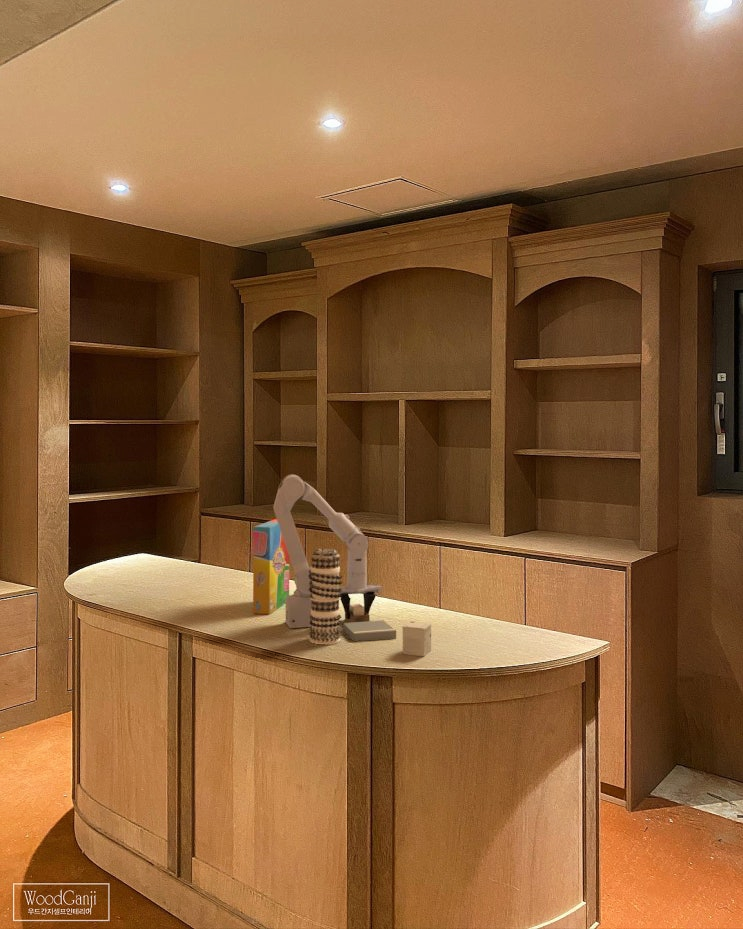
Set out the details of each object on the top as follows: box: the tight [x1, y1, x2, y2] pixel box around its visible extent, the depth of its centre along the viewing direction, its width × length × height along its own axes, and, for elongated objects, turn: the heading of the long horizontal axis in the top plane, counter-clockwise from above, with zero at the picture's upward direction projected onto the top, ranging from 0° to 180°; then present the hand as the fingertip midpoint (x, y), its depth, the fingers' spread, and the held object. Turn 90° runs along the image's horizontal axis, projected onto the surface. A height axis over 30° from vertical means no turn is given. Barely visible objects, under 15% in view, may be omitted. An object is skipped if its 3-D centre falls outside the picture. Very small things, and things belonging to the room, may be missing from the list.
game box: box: [252, 518, 290, 615], centre depth 257 cm, size 21×6×27 cm, turn 168°
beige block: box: [350, 603, 364, 616], centre depth 239 cm, size 3×5×3 cm, turn 17°
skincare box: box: [402, 620, 432, 657], centre depth 210 cm, size 6×6×7 cm
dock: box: [342, 619, 397, 642], centre depth 227 cm, size 12×12×2 cm
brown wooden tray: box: [344, 611, 370, 623], centre depth 239 cm, size 5×9×3 cm, turn 17°
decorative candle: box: [308, 548, 343, 646], centre depth 219 cm, size 9×9×25 cm
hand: (356, 617), depth 239 cm, fingers closed on brown wooden tray, 5 cm apart
